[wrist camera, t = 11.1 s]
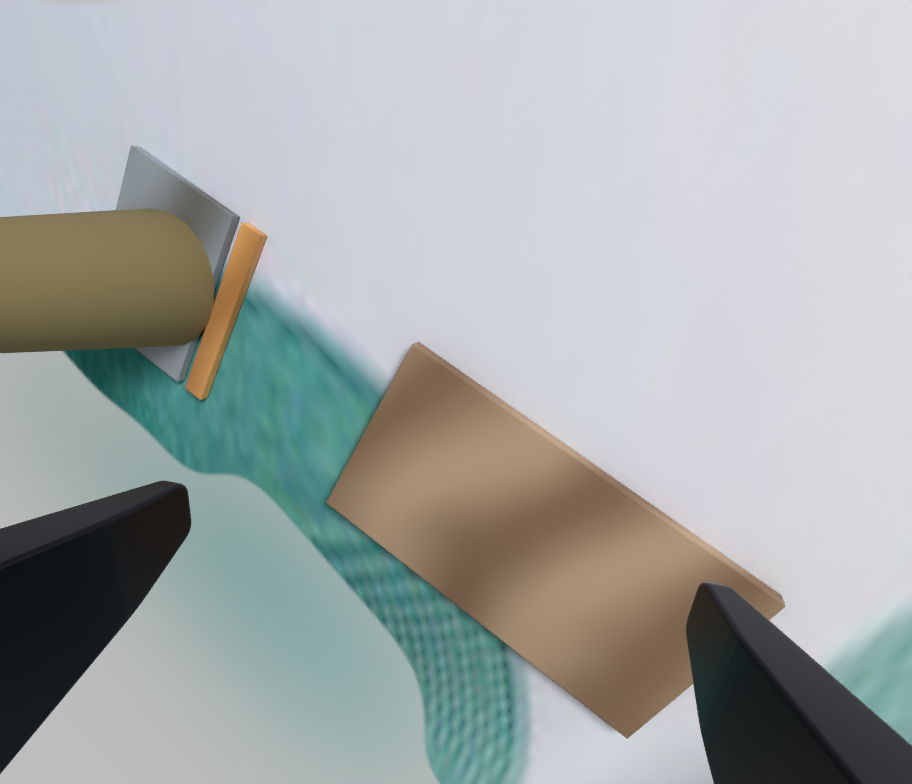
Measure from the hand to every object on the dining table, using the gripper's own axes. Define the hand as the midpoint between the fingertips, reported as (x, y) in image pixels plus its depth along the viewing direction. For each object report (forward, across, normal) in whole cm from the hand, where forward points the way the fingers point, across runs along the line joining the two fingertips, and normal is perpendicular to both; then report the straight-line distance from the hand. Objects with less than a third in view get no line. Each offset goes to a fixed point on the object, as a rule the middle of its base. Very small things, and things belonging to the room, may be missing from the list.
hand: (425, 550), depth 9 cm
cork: (+14, +15, -1) cm, 20 cm away
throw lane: (+12, +5, +3) cm, 13 cm away
